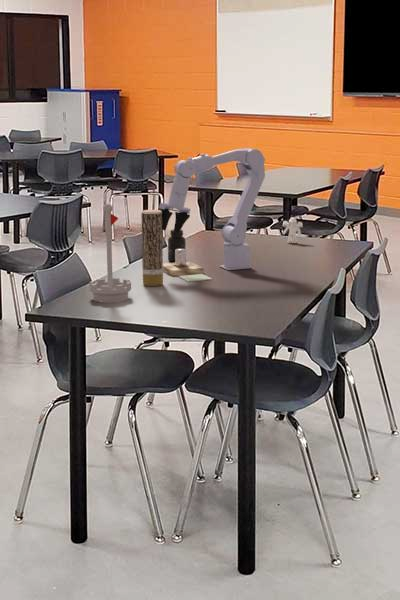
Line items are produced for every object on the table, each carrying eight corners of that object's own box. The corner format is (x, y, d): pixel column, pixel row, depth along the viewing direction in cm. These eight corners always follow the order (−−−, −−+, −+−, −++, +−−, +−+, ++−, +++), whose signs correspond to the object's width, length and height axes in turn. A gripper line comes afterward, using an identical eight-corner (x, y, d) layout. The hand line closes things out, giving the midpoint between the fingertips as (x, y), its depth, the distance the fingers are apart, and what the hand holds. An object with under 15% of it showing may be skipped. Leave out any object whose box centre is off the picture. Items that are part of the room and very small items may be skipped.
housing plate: (189, 266, 333) (189, 261, 333) (203, 273, 321) (203, 267, 320) (158, 269, 329) (158, 263, 329) (172, 276, 316) (172, 270, 316)
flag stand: (114, 305, 274) (111, 207, 267) (81, 300, 281) (77, 204, 274) (139, 296, 285) (137, 202, 278) (107, 292, 292) (104, 200, 285)
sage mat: (202, 275, 318) (202, 273, 318) (212, 279, 310) (212, 278, 310) (178, 277, 315) (178, 276, 315) (188, 281, 307) (187, 280, 307)
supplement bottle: (165, 262, 343) (164, 231, 341) (172, 259, 350) (171, 228, 347) (181, 263, 341) (181, 231, 338) (188, 260, 347) (188, 229, 344)
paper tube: (166, 283, 305) (164, 210, 299) (158, 287, 298) (157, 212, 293) (147, 282, 307) (145, 209, 301) (139, 286, 300) (138, 212, 295)
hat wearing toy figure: (303, 243, 384) (304, 215, 381) (300, 244, 381) (300, 216, 378) (283, 241, 388) (284, 214, 385) (280, 242, 385) (280, 215, 382)
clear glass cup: (184, 270, 328) (183, 248, 326) (188, 271, 324) (187, 250, 322) (173, 270, 326) (173, 249, 324) (177, 272, 322) (177, 250, 321)
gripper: (183, 194, 326) (174, 230, 328) (157, 188, 315) (148, 226, 317) (197, 198, 322) (188, 234, 323) (171, 192, 310) (162, 230, 312)
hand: (169, 231), depth 320 cm, fingers open, 7 cm apart
